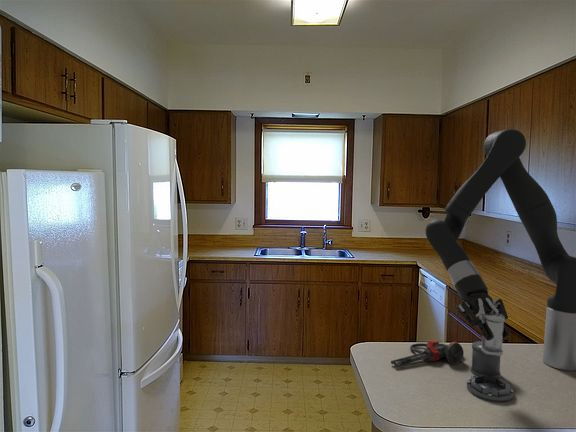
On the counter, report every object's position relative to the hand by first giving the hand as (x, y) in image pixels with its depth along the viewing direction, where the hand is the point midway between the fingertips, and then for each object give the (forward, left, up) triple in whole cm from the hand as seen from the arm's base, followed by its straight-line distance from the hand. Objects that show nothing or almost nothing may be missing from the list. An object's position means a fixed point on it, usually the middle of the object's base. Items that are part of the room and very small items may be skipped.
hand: (498, 337), depth 105 cm
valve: (+3, -25, -16) cm, 29 cm away
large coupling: (-7, -10, -15) cm, 20 cm away
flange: (0, -2, -15) cm, 15 cm away
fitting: (0, -2, -5) cm, 5 cm away
